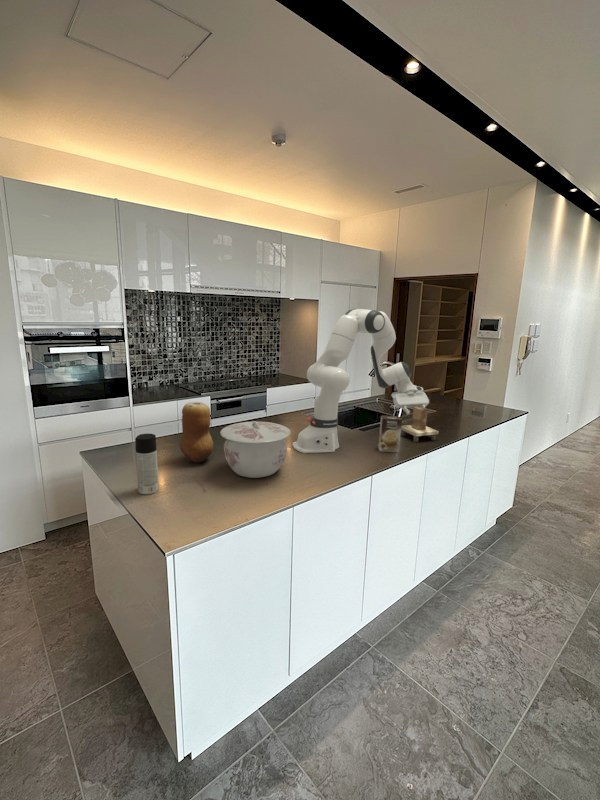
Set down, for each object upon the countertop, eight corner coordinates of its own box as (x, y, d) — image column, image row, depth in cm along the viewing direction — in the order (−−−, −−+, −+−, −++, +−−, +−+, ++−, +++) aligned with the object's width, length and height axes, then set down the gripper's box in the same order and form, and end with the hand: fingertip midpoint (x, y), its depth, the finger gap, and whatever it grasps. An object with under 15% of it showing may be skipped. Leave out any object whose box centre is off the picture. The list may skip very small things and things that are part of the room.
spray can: (161, 486, 138) (158, 433, 134) (155, 495, 131) (151, 439, 127) (142, 486, 138) (139, 432, 133) (135, 495, 131) (131, 439, 127)
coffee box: (379, 451, 180) (381, 418, 177) (378, 447, 186) (380, 415, 183) (399, 452, 179) (402, 419, 176) (397, 448, 186) (400, 416, 182)
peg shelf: (415, 443, 194) (416, 433, 193) (398, 434, 207) (399, 425, 206) (437, 440, 199) (438, 431, 198) (420, 432, 212) (421, 423, 211)
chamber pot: (264, 492, 136) (265, 436, 131) (205, 475, 149) (204, 423, 144) (303, 466, 160) (304, 418, 155) (249, 454, 172) (249, 409, 168)
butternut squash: (220, 459, 165) (219, 402, 160) (197, 469, 154) (195, 408, 149) (196, 452, 172) (194, 398, 167) (173, 462, 161) (170, 403, 155)
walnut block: (417, 430, 199) (419, 409, 196) (411, 427, 203) (413, 407, 201) (425, 429, 200) (427, 408, 198) (419, 426, 205) (421, 406, 203)
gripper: (393, 389, 204) (402, 411, 197) (425, 387, 211) (435, 408, 204) (387, 395, 209) (396, 417, 202) (419, 393, 216) (428, 415, 209)
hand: (416, 413), depth 203 cm, fingers open, 8 cm apart
